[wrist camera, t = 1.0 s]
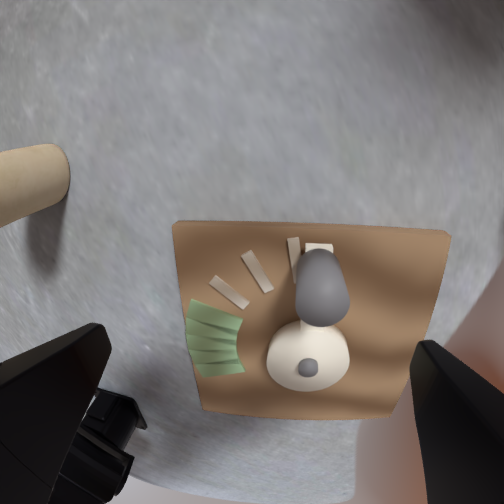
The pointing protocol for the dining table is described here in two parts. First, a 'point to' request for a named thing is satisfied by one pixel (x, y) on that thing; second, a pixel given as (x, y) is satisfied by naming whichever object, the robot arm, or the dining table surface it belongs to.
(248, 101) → the dining table surface
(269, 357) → the needle
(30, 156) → the candle
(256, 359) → the dial board
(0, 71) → the dining table surface
